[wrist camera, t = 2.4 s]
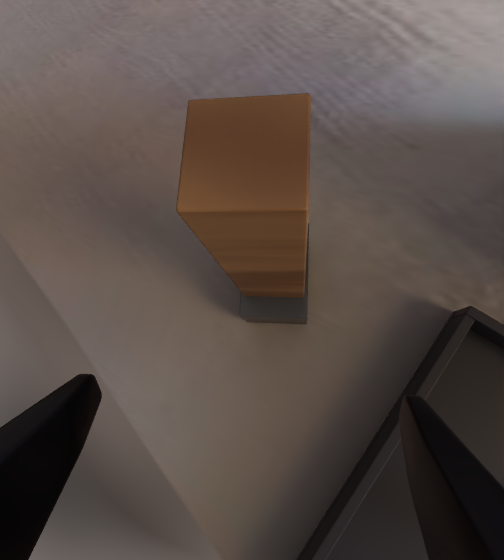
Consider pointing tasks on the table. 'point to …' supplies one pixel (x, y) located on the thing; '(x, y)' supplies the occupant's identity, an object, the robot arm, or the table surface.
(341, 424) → the table surface
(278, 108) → the wooden block on stand
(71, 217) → the table surface
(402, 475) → the pan
